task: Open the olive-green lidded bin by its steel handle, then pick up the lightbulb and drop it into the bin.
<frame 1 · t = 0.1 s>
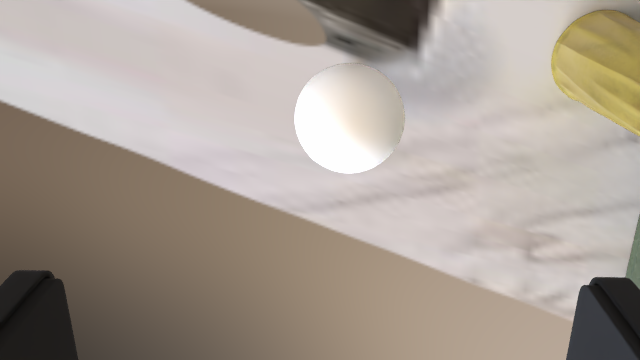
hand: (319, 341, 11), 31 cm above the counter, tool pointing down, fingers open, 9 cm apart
lightbulb: (347, 84, 41), on the counter
vase: (596, 56, 40), on the counter
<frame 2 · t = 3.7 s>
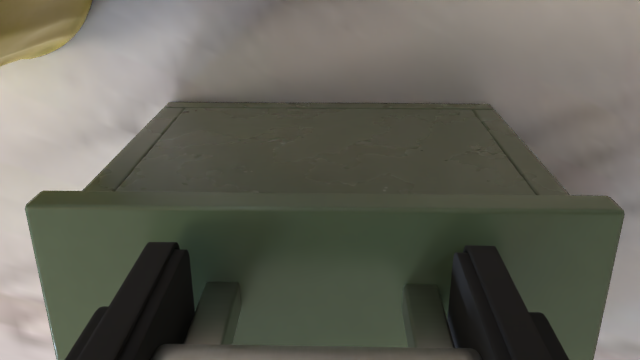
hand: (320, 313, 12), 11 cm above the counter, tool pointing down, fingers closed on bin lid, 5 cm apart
bin: (327, 266, 24), on the counter
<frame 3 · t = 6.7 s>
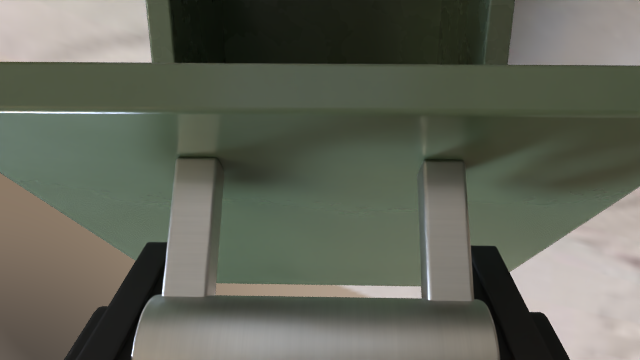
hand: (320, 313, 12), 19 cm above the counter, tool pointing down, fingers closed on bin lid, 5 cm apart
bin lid: (323, 307, 14), point 17 cm above the counter, hinge at 49.2°, touching gripper
bin: (331, 41, 29), on the counter
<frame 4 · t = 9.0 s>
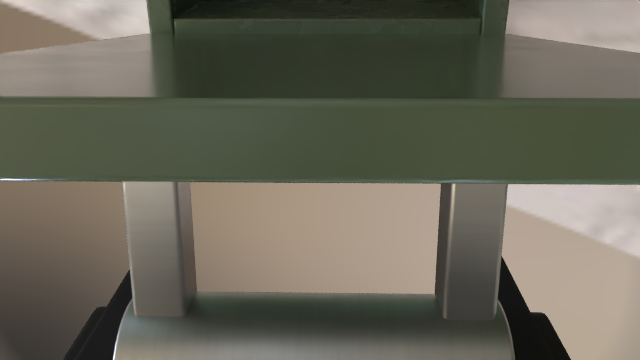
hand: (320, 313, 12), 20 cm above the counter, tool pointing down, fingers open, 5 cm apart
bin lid: (322, 166, 13), point 18 cm above the counter, hinge at 81.7°
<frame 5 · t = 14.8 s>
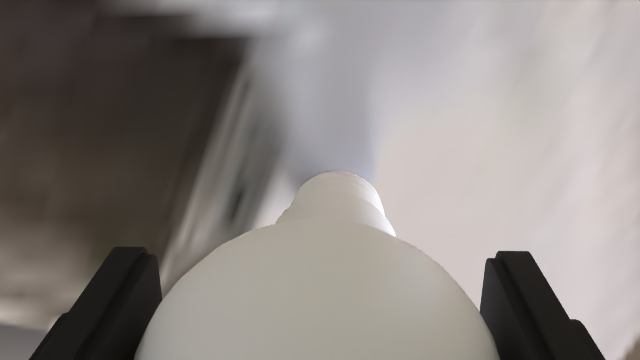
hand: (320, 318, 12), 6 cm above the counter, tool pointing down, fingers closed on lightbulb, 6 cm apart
lightbulb: (338, 197, 17), on the counter, touching gripper
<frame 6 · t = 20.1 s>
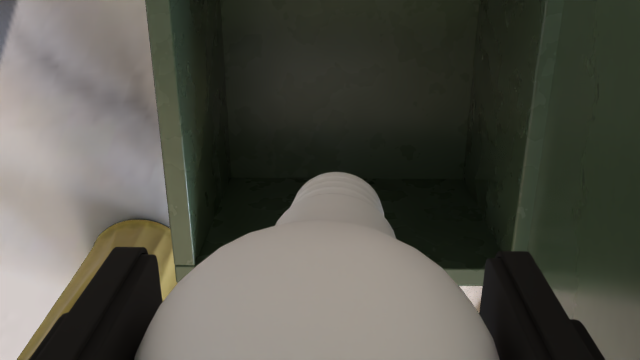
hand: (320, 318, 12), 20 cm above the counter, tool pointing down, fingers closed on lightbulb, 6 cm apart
lightbulb: (338, 198, 17), point 14 cm above the counter, touching gripper
vase: (146, 263, 35), on the counter
bin: (347, 79, 30), on the counter
when the fingers open (10 cm above the counter, at t = 22.8 s): lightbulb drops 3 cm, resting on bin.
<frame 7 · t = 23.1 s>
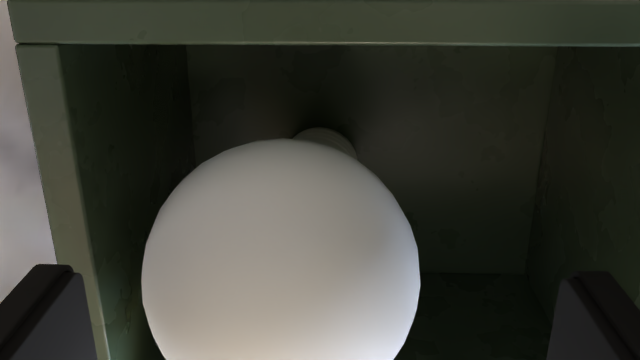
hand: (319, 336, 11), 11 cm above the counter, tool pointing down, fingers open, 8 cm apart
lightbulb: (323, 152, 21), point 1 cm above the counter, touching bin
bin: (365, 138, 21), on the counter
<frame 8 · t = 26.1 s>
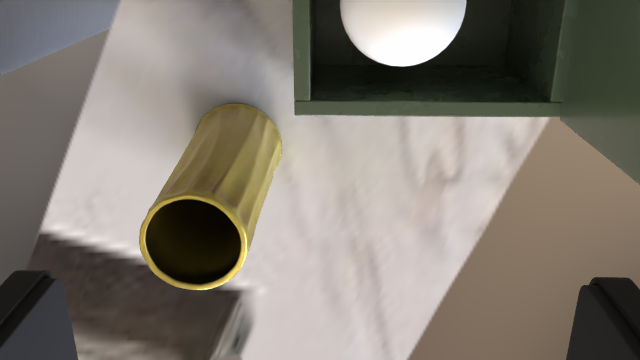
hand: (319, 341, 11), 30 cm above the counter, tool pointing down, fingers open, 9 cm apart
vase: (238, 144, 42), on the counter
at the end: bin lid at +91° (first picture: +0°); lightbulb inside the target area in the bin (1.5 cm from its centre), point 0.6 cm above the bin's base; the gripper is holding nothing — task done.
